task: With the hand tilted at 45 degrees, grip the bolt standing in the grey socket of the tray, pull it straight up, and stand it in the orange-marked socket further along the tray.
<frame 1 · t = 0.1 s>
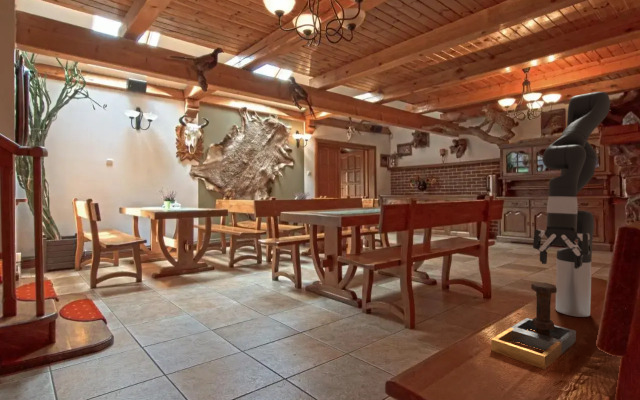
hand: (559, 266, 106), 17 cm above the table, tool pointing down, fingers open, 8 cm apart
tray: (534, 346, 92), on the table
bolt: (542, 340, 95), resting in tray
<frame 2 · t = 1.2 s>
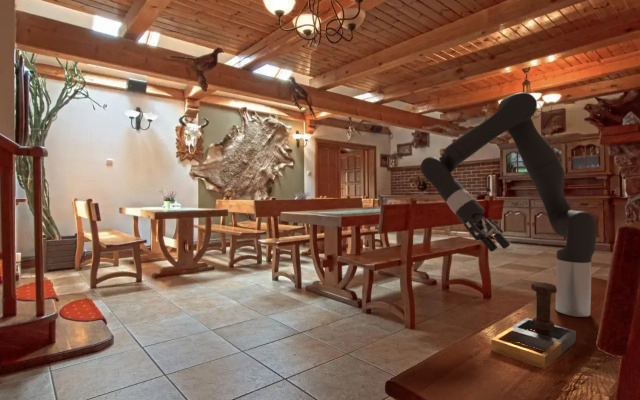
hand: (501, 248, 103), 23 cm above the table, tool tilted 45°, fingers open, 8 cm apart
nothing on the table moved.
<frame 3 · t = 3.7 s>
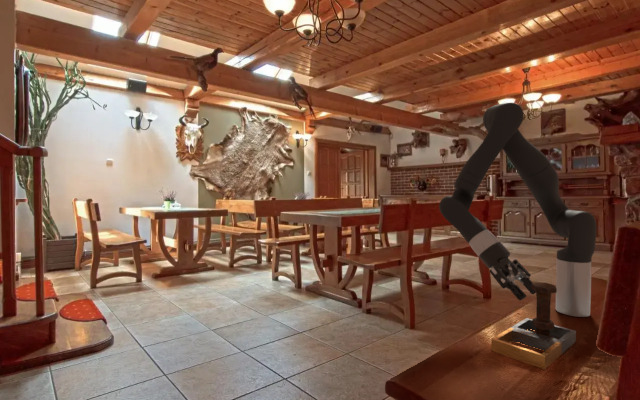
hand: (529, 295, 97), 11 cm above the table, tool tilted 45°, fingers open, 8 cm apart
nothing on the table moved.
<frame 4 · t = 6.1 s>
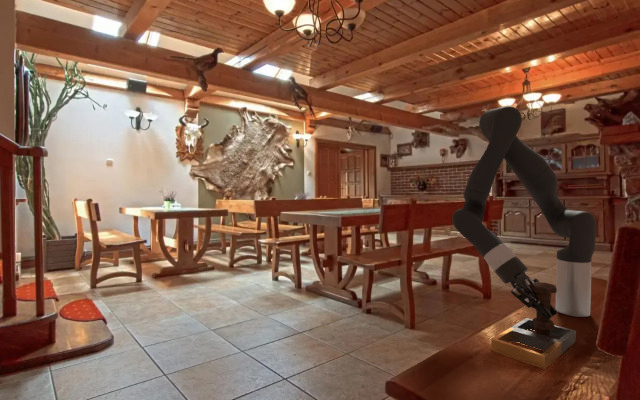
hand: (551, 316, 93), 7 cm above the table, tool tilted 45°, fingers closed on bolt, 3 cm apart
bolt: (542, 340, 95), resting in tray, touching gripper
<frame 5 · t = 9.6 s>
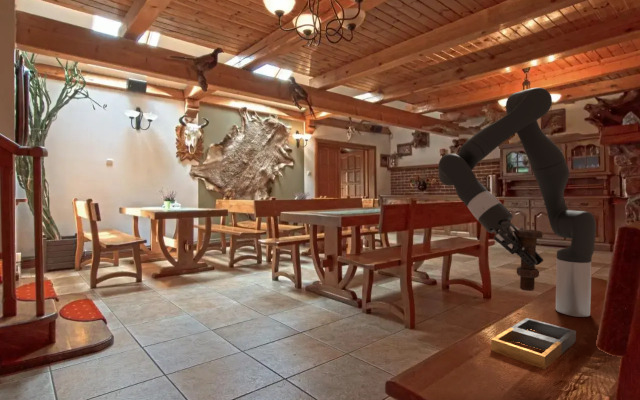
hand: (536, 263, 87), 22 cm above the table, tool tilted 45°, fingers closed on bolt, 3 cm apart
bolt: (526, 290, 89), point 15 cm above the table, touching gripper
when the fingers open (8 cm above the table, at t = 13.1 s): bolt stays where it is, resting in tray.
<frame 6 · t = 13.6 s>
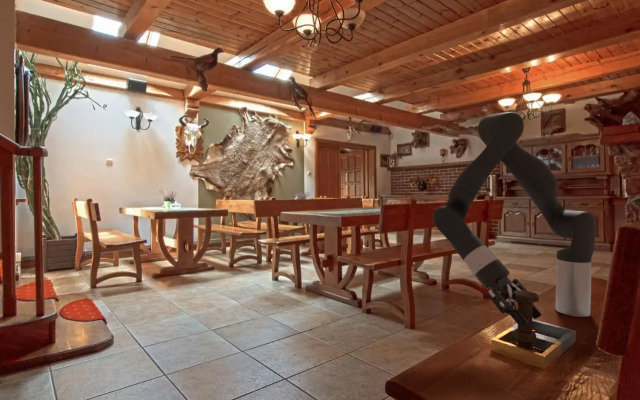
hand: (532, 321, 87), 8 cm above the table, tool tilted 45°, fingers open, 8 cm apart
bolt: (524, 353, 88), resting in tray
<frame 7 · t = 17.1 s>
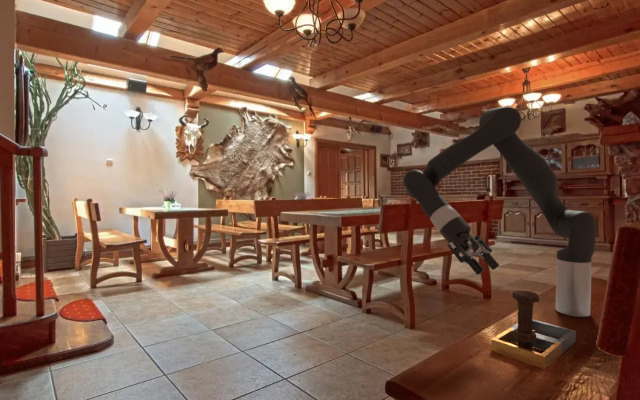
hand: (489, 270, 94), 19 cm above the table, tool tilted 45°, fingers open, 8 cm apart
nothing on the table moved.
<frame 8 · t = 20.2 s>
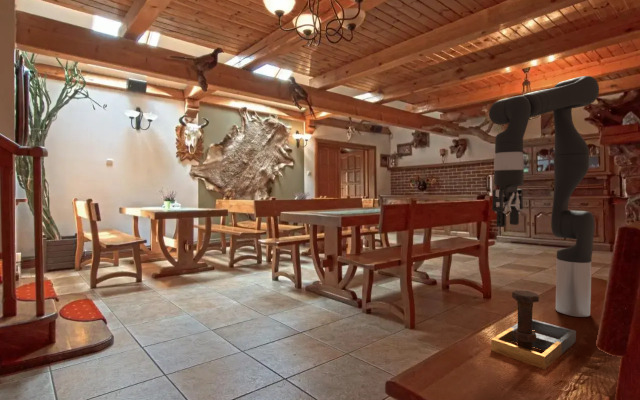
hand: (507, 225, 102), 30 cm above the table, tool pointing down, fingers open, 8 cm apart
nothing on the table moved.
at the end: bolt inside the target area on the tray (0.2 cm from its centre), point 0.0 cm above the tray's base; bolt tilted 0°; the gripper is holding nothing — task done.
